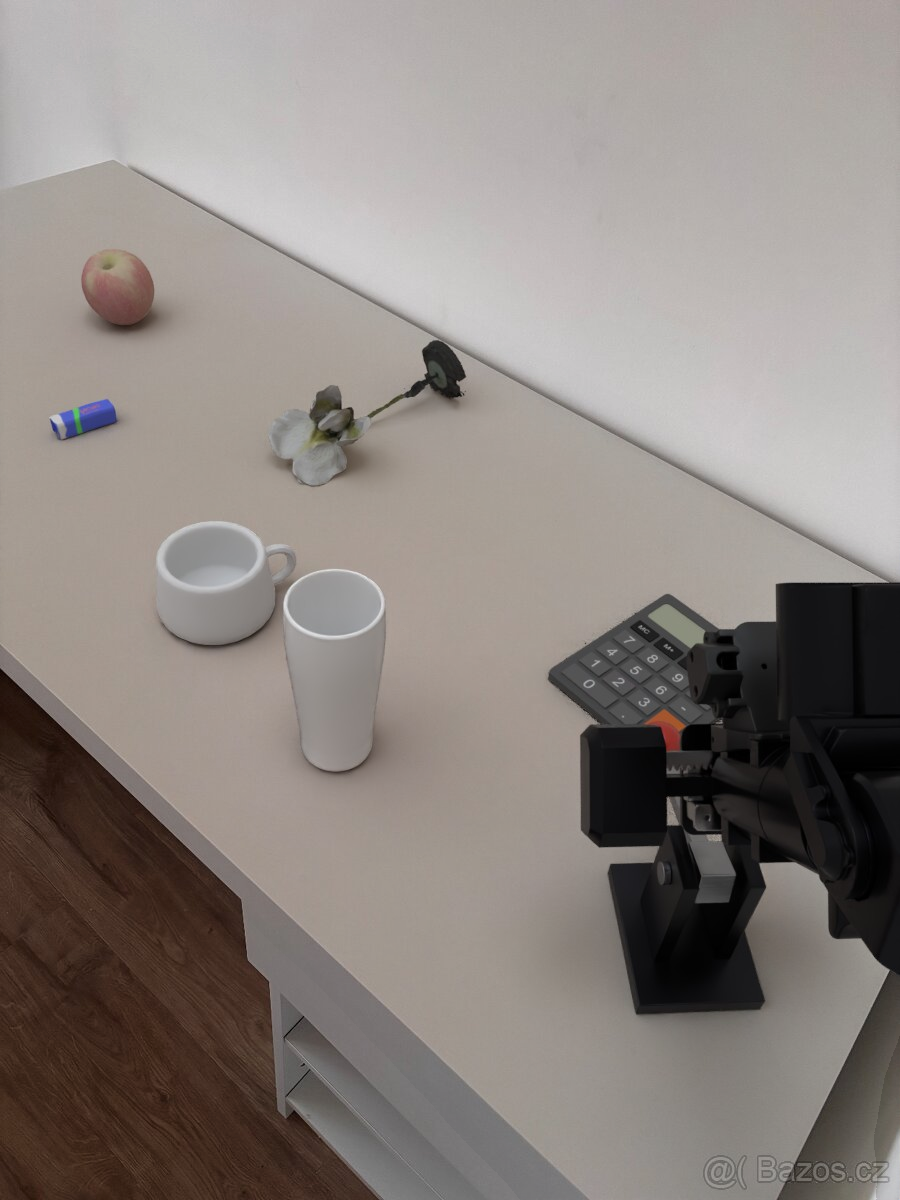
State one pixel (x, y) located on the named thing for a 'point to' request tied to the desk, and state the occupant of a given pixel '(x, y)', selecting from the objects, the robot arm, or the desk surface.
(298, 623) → the drinking glass
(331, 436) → the artificial flower
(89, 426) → the eraser
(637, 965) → the switch bracket
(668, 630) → the calculator
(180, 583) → the mug
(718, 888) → the lever
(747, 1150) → the desk surface
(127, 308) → the apple
